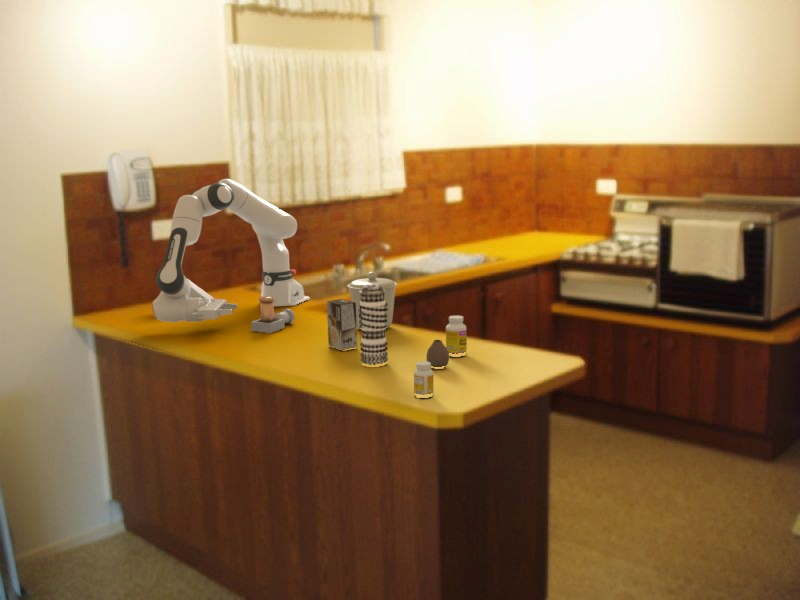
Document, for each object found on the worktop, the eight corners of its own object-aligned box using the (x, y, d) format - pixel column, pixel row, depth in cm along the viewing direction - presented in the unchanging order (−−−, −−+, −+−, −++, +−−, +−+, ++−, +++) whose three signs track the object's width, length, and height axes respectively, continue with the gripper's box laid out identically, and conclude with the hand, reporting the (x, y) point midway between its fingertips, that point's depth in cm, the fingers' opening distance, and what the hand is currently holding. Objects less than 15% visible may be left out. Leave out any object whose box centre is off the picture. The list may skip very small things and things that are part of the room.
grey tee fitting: (280, 322, 359) (279, 307, 358) (298, 324, 355) (297, 309, 353) (251, 331, 345) (250, 316, 344) (270, 333, 340) (269, 318, 339)
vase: (425, 365, 292) (425, 338, 290) (447, 364, 292) (447, 337, 290) (428, 371, 285) (427, 343, 283) (450, 370, 285) (450, 342, 284)
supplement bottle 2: (460, 359, 298) (460, 319, 296) (442, 356, 302) (441, 317, 299) (470, 354, 304) (470, 315, 301) (452, 352, 307) (451, 314, 305)
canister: (404, 324, 350) (403, 268, 346) (388, 335, 334) (386, 276, 329) (359, 322, 356) (357, 267, 352) (341, 332, 339) (339, 275, 335)
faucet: (210, 301, 377) (172, 270, 377) (188, 332, 381) (150, 301, 381) (216, 298, 383) (178, 268, 383) (194, 328, 387) (156, 298, 388)
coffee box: (358, 349, 314) (357, 302, 311) (342, 352, 311) (341, 304, 308) (343, 344, 322) (341, 298, 319) (327, 347, 318) (325, 300, 315)
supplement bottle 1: (416, 400, 256) (415, 366, 255) (412, 394, 262) (411, 361, 260) (435, 398, 257) (435, 364, 255) (431, 393, 262) (430, 360, 261)
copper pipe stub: (263, 327, 350) (262, 295, 347) (278, 328, 348) (276, 296, 346) (258, 331, 344) (256, 298, 342) (272, 331, 343) (271, 299, 341)
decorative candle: (391, 366, 291) (390, 287, 286) (362, 369, 289) (360, 289, 284) (386, 359, 300) (384, 282, 295) (357, 361, 298) (355, 284, 293)
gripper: (189, 306, 334) (228, 306, 334) (202, 296, 355) (239, 295, 354) (190, 324, 336) (229, 323, 335) (203, 312, 356) (240, 311, 355)
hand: (234, 309), depth 345 cm, fingers open, 8 cm apart
